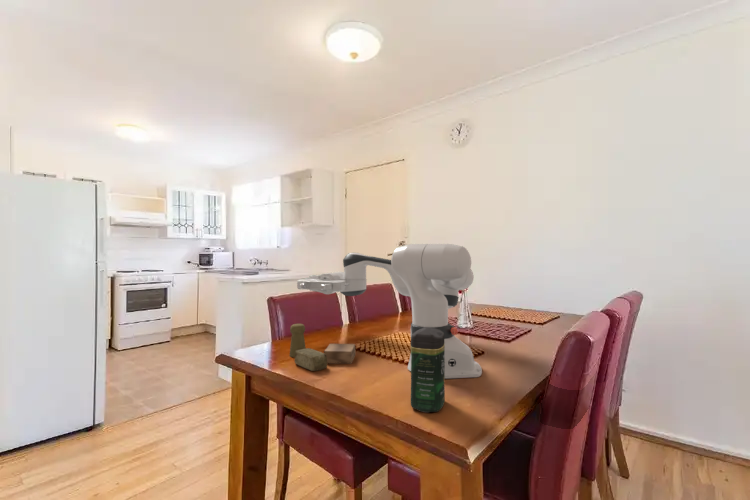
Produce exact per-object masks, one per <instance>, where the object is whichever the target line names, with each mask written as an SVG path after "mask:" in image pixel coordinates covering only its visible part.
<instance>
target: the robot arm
mask: <svg viewBox="0 0 750 500" xmlns="http://www.w3.org/2000/svg"><path fill="white" fill-rule="evenodd" d="M342 262H343V263H342V265H343V271H334V272H333V271H332V272H326V273H322V274H316V275H314V274H313V275H309V277H305V278H300V279H297V281H296V282H297V283H296V287H297V289H298V290H307V291H308V290H309V291H310V292H316V293H317V292H318V293H322V294H324V295H331V294H335V293H340V294H341V295H343V296H347V297H354V296H356V297H357V296H360V295H362V294H364V293H365V292H366V291H367V266H371V267H377V268H382V269H385V270H386V271H387V273H388V274H389V276H390V280H391V281H392V283H393V286H394V288H395V290H396V291H397V292H398V294H400V295H402V296H405V297H409V298H410V301H411V315H412V316H411V320H412V322H411V323H410V336H411V335H412V334H413V333H414V332H416V331H417V330H419V329H422V328H423V327H433V328H439V329H440V330H441V331H442V332H443V333H444V341H445V380H446V379H463V378H466V379H467V378H479V377H481V376H482V374H483V370H482V366H481V364H479V362H477V361H475V357H474V355H473V354H474V353H473V351H472V349H471V348H470V347H469V345H467V344H466V343H464V342H463V341H462V340H461V339H460V338H458V337H457V336H456V335H457V334H458V332H459V331H458V328H457V327H455V326H454V325H453V324H451V323H449V309H451V308H455V307H456V306H457V305H458V302H459V299H460V298H459V297H460V296H459V291H463V290H464V291H465V290H466V289H468V288H469V287H471V286H472V284H473V283H474V282H473V281H474V272H473V271H472V268H471V267H472V257H471V254H470V252H469V250H467V248H466V247H465V246H463V245H462V246H461V245H458V244H457V245H456V244H453V243H410V244H406V245H405V244H404V245H401V246H398V247H396V248H395V250H394V251H393V252H392V255H391V259H387V258H381V257H377V256H371V255H366V254H364V253H359V252H348V253H347V254H346V255H345V256H344V257H343V259H342ZM408 360H409V361H408V364H407V370H408V371H410V372H411V354H410V355H409V359H408Z"/></svg>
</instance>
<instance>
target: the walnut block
mask: <svg viewBox="0 0 750 500" xmlns="http://www.w3.org/2000/svg"><path fill="white" fill-rule="evenodd" d="M323 353H325V354H326V356H327V364H343V365H345V364H350V365H351V364H352V363H353V361H354V359H355V357H356V343H329V344H328V346H327V347H326V348H325V349H324V351H323Z"/></svg>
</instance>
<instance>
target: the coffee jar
mask: <svg viewBox="0 0 750 500" xmlns="http://www.w3.org/2000/svg"><path fill="white" fill-rule="evenodd" d="M410 355H411V371H410V406H411V407H412V409H415V410H417V411H419V412H423V413H430V412H431V413H432V412H439V411H441V410H442V408H443V407H444V405H445V402H446V401H445V399H446V398H445V397H446V395H445V393H446V390H445V387H446V386H445V385H446V384H445V380H446V379H445V341H444V333H443V332H442V331H441V330H440V329H439V328H433V327H423V328H422V329H419V330H417V331H416V332H414V333H413V334H412V335H411V334H410Z"/></svg>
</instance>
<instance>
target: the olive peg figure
mask: <svg viewBox="0 0 750 500" xmlns="http://www.w3.org/2000/svg"><path fill="white" fill-rule="evenodd" d="M289 330H290V334H291V338H290V339H291V340H290V348H289V357H290V358H294V359H295V351H296V350H301V349H306V348H307V346H306V341H305V335H304V334H305V331H306V326H305V324H303V323H294V324H292V325H290V329H289Z"/></svg>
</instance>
